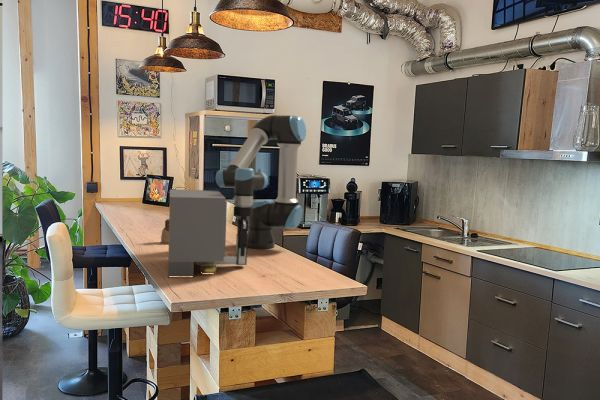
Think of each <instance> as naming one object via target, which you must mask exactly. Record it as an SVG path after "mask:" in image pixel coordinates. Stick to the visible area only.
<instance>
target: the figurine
mask: <svg viewBox="0 0 600 400" xmlns="http://www.w3.org/2000/svg"><path fill="white" fill-rule="evenodd" d="M164 226H165V227H164V228H163V229H162V230H161V236H160V238H161V239H160V243H161V244H162V243H163V245H169V218H167V219H166V220H165V221H164Z"/></svg>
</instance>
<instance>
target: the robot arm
mask: <svg viewBox="0 0 600 400" xmlns="http://www.w3.org/2000/svg"><path fill="white" fill-rule="evenodd" d="M306 136H307V127H306V123H305V121H304V119H303V118H302V117H301V116H297V115H276V114H275V115H274V114H273V115H272V114H271V115H268V116H265V117H263V118H262V119H260V120H259V121H257V122H256V123H255V124H254V125H253V126H252V127H251V129H250V130H249V133H248V137H247V138H246V140H245V141H244V143H243V144H242V145H241V147H240V148H239V150H238V151H237V153H236V154H235V156H234V157H233V159H231V161H230V162H229V164H228V165H227V167H226V168H225V169H219V170H217V171H216V173H215V182H216V185H217V186H218V187H221V188H228V189H229V188H230V189H234V197H232V200H233V204H234V206H233V215H234V216H235V217H238V218H237V220H236V222H237V228H236V230H237V231H236V232H237V233H236V235H237V234H240V246H239V247H238V248H239V260H238V264H245V257H246V248H247V249H248V248H249V249H255V250H258V249H259V250H261V249H262V250H264V249H265V250H267V249H273V248H274V247H276V246H275V245H276V242H275V238H274V235H273V234H274V233H273V231H272V230H273V228H281V229H286V230H288V229H289V230H295V229H296V228H298V226H300V224H301V223H302V222H301V221H302V218H303V206H301V205H299V200H298V199H297V195H296V194H297V173H298V152H299V151H298V148H299V147H301V146H302V142H303V141H305V140H306ZM271 140H272V141H273V140H274V141H275V140H276V145H277V146H278V147H279V157H278V158H279V159H278V160H279V161H278V183H277V185H278V186H277V187H278V189H277V197H276V199H275V200H273V199H260V200H259V199H257V200H254V191H261V190H264V189H265V188H266V187H267V186H268V183H269V178H268V176H267V174H266V173H264V172H261V171H255V170H254V169H253V168H251V167H250V165H251V163H252V162H253V160H254V159H255V157H256V155H258V152H259V151H260V150H261V148H262V146H264V145H266V144H267V143H268V141H271ZM247 217H248V219H247ZM247 236H248V239H247Z"/></svg>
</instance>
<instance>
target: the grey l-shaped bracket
mask: <svg viewBox="0 0 600 400" xmlns="http://www.w3.org/2000/svg"><path fill="white" fill-rule="evenodd" d="M235 237H236V240H235V255H229V256H228V255H225V257H224V261H213V262H195V264H196V265H200V266H201V265H203V264H214V265H236V266H247V261H248V259H247V258H248V247H247V248H246V257H245V264H238V260H239V248H238V247H239V246H240V234H237V233H236V236H235ZM247 239H248V236H247Z"/></svg>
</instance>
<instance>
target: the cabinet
mask: <svg viewBox="0 0 600 400" xmlns="http://www.w3.org/2000/svg"><path fill="white" fill-rule="evenodd" d="M226 199H227V198H226V197H225V196H224V195H223V194H222V193H221V192H220V191H219V190H204V189H197V190H196V189H169V213H168V214H169V218H168V219H169V244H168V268H167V269H168V271H167V272H168V274H167V275H168V276H193V277H194V264H195V263H196V262H213V261H224V257H225V256H226V242H227V240H226V239H227V238H226V237H227V235H226V234H227V213H228V211H227V210H228V209H227V206H228V201H227V200H226Z"/></svg>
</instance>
